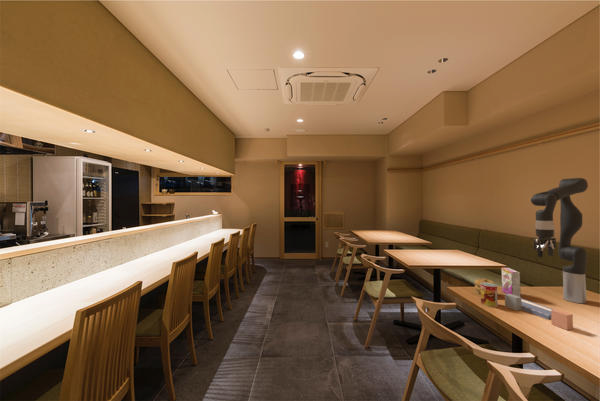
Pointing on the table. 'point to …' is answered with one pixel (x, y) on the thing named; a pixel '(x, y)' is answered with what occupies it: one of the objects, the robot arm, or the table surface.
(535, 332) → the table surface
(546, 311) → the ticket slab
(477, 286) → the pot
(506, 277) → the candy bar box
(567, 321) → the stub terracotta
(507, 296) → the stub grey
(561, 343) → the table surface
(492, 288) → the canned food
